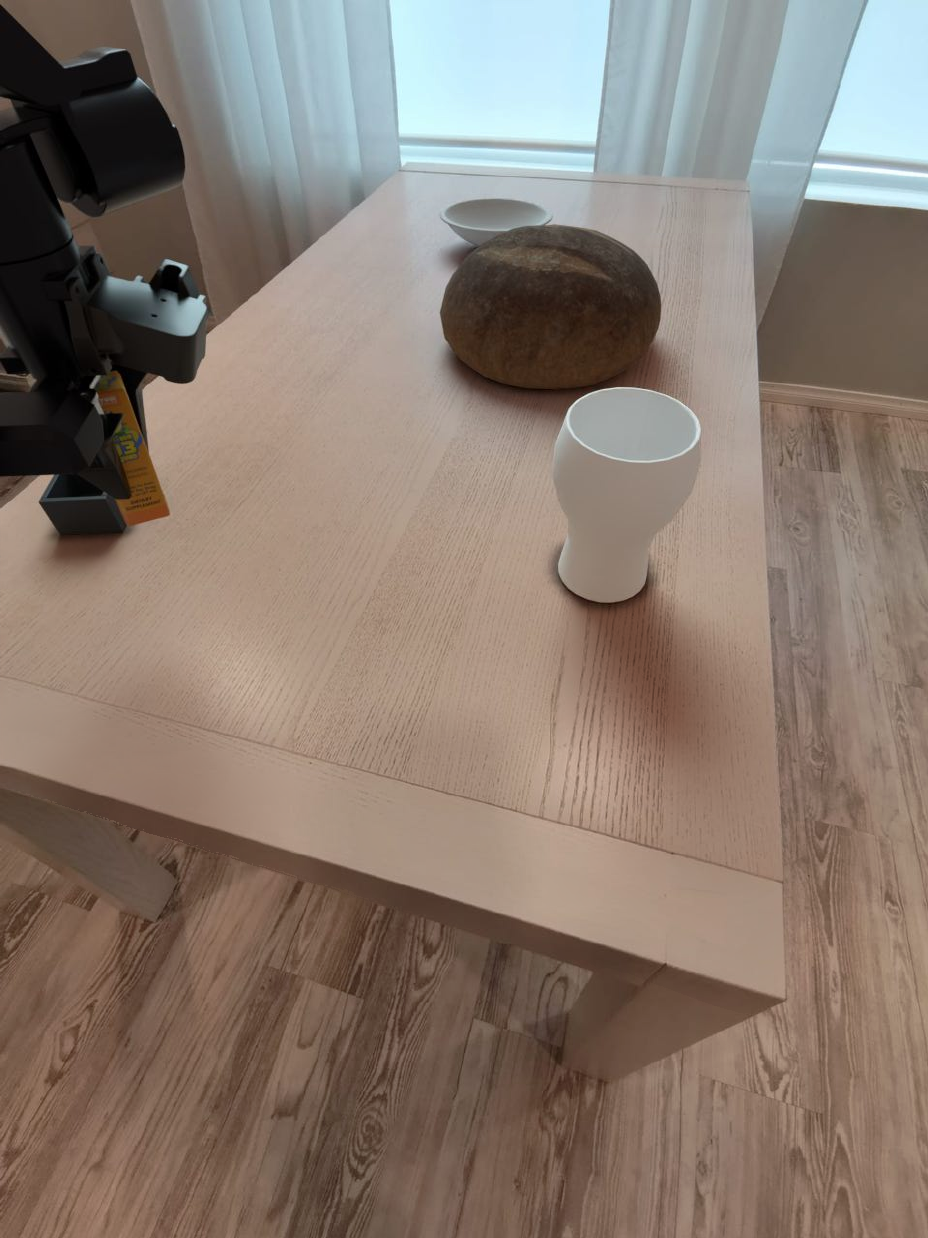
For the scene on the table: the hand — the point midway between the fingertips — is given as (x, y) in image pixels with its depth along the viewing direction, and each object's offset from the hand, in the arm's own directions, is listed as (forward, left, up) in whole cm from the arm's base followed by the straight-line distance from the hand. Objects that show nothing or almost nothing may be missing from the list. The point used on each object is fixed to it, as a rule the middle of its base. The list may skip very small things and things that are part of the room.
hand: (133, 478), depth 47 cm
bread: (+53, +15, -13) cm, 57 cm away
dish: (+67, +44, -13) cm, 81 cm away
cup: (+30, -19, -13) cm, 38 cm away
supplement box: (0, 0, -3) cm, 3 cm away
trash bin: (-3, +16, -12) cm, 20 cm away
